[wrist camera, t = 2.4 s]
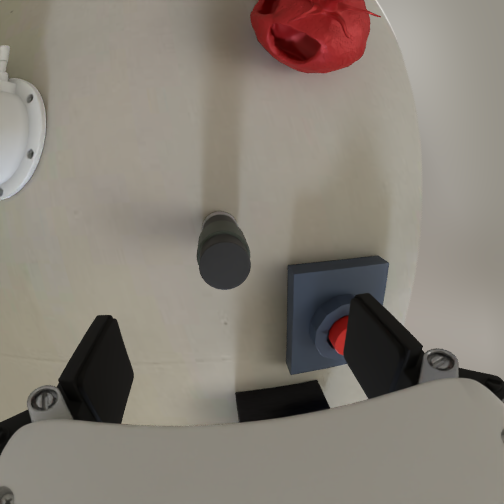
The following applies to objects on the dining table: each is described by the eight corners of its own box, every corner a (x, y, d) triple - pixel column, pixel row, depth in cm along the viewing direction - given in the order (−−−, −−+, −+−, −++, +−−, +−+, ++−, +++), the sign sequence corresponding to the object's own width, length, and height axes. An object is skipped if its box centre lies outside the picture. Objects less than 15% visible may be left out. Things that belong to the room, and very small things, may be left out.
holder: (235, 392, 32) (239, 423, 27) (317, 379, 33) (330, 407, 28) (241, 436, 35) (245, 464, 30) (310, 425, 36) (319, 451, 32)
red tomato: (327, -9, 19) (368, -53, 10) (362, 73, 22) (422, 50, 13) (231, 1, 18) (242, -57, 10) (265, 91, 22) (296, 57, 13)
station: (287, 265, 27) (299, 282, 23) (378, 255, 28) (399, 269, 25) (286, 362, 31) (294, 386, 27) (364, 347, 32) (378, 366, 29)
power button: (330, 318, 26) (337, 328, 24) (363, 311, 26) (372, 321, 24) (326, 348, 27) (332, 359, 25) (358, 341, 27) (366, 351, 25)
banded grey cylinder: (198, 211, 24) (192, 241, 16) (238, 207, 25) (252, 235, 16) (202, 248, 26) (199, 295, 17) (240, 245, 26) (255, 290, 18)
